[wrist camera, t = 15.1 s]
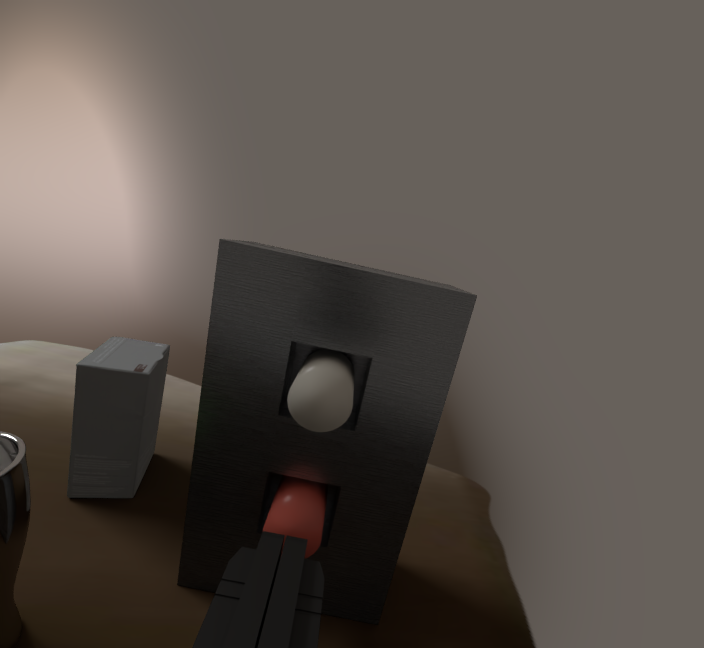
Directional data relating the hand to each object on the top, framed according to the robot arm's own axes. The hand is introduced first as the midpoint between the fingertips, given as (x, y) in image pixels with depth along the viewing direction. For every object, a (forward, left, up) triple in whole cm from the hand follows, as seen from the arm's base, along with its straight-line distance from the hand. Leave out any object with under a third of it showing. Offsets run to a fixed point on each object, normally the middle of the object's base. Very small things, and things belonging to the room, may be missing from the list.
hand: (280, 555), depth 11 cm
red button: (+10, +10, -13) cm, 19 cm away
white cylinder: (+10, +10, -2) cm, 14 cm away
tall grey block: (+12, +12, -21) cm, 27 cm away
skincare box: (+2, +33, -21) cm, 39 cm away
